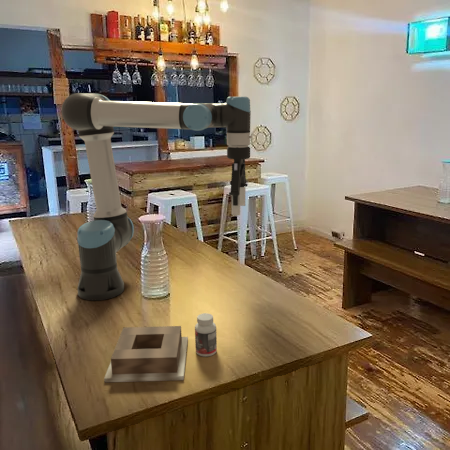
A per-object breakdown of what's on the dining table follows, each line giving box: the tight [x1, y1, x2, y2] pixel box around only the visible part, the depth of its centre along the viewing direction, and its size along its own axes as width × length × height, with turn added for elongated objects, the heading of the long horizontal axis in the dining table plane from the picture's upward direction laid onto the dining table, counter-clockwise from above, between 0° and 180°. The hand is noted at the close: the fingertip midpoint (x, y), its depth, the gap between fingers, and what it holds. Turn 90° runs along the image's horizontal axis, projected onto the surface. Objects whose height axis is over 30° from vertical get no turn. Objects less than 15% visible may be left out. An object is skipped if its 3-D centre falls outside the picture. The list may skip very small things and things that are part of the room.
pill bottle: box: [194, 312, 218, 358], centre depth 114 cm, size 5×5×10 cm
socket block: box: [103, 325, 189, 383], centre depth 111 cm, size 18×18×5 cm
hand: (238, 210), depth 152 cm, fingers open, 13 cm apart
